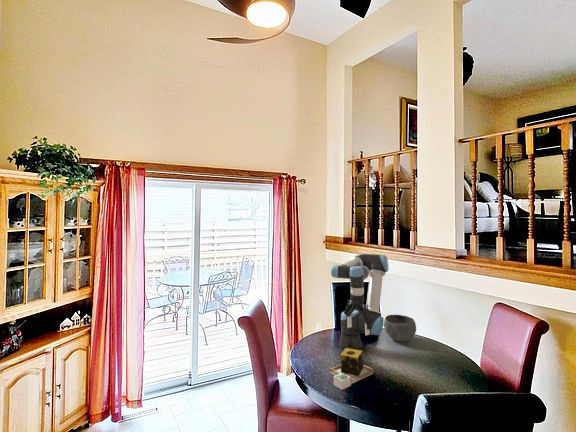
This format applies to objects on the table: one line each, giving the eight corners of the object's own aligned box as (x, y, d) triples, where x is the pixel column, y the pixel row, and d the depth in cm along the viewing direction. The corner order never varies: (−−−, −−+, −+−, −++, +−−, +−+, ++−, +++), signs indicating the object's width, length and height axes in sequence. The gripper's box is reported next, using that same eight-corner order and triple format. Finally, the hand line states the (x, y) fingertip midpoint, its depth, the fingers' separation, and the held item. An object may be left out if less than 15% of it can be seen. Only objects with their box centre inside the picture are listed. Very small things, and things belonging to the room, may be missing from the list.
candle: (363, 368, 180) (363, 350, 179) (358, 376, 171) (358, 357, 170) (345, 364, 184) (345, 347, 184) (340, 372, 175) (340, 354, 175)
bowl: (389, 332, 235) (389, 312, 235) (419, 338, 223) (419, 316, 222) (379, 341, 218) (379, 320, 218) (411, 349, 206) (411, 325, 205)
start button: (336, 381, 164) (336, 374, 164) (341, 379, 166) (341, 371, 166) (341, 384, 161) (341, 376, 161) (347, 382, 164) (346, 374, 164)
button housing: (333, 384, 165) (333, 376, 165) (342, 381, 168) (341, 372, 168) (342, 389, 160) (341, 380, 160) (350, 385, 163) (350, 377, 163)
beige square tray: (329, 372, 178) (329, 367, 178) (351, 363, 188) (351, 358, 188) (350, 384, 165) (350, 379, 165) (373, 373, 175) (373, 369, 175)
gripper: (337, 290, 189) (338, 326, 190) (369, 300, 169) (370, 339, 170) (346, 288, 194) (347, 323, 195) (379, 297, 173) (380, 336, 174)
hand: (358, 330), depth 182 cm, fingers open, 13 cm apart
